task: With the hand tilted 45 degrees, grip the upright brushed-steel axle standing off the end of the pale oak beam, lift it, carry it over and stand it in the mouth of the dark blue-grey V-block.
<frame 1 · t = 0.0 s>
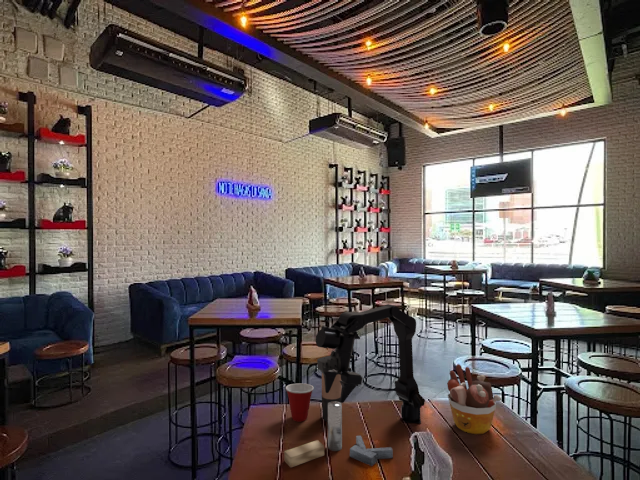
hand: (334, 397, 124), 15 cm above the table, tool pointing down, fingers open, 9 cm apart
plastic cup: (299, 418, 143), on the table
bucket of meat: (471, 426, 136), on the table
beam: (304, 458, 116), on the table
travel mug: (331, 418, 143), on the table
axle: (334, 447, 122), on the table
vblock: (371, 452, 119), on the table
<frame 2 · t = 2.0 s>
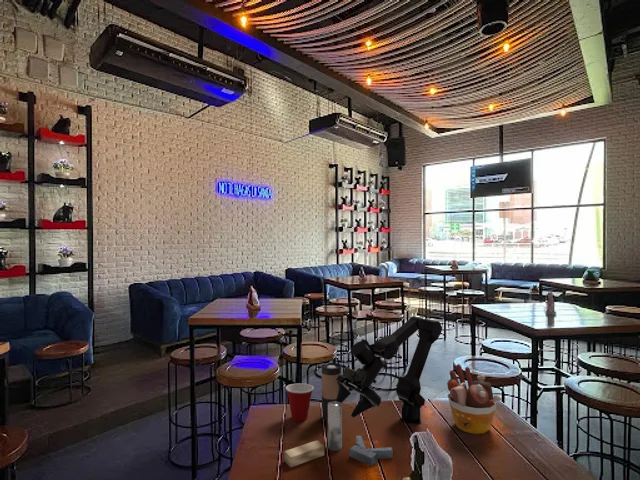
hand: (343, 411, 124), 11 cm above the table, tool tilted 45°, fingers open, 9 cm apart
nothing on the table moved.
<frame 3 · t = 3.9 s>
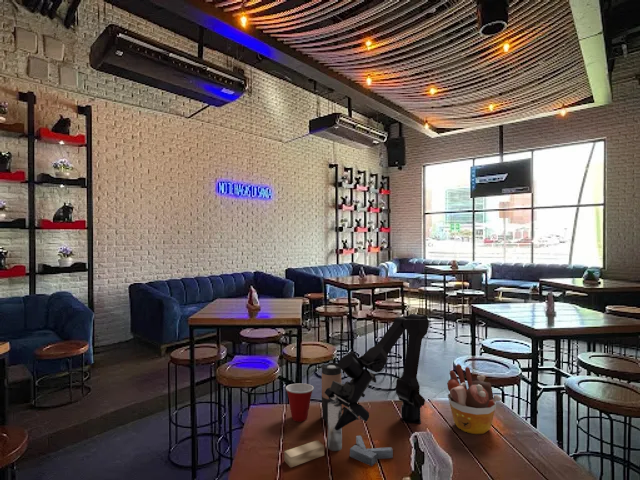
hand: (331, 426, 122), 7 cm above the table, tool tilted 45°, fingers closed on axle, 5 cm apart
axle: (334, 447, 122), on the table, touching gripper
everything else where it was.
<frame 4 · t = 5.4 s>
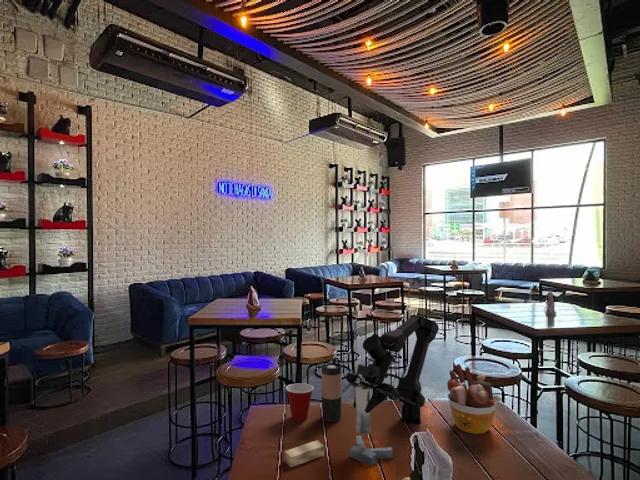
hand: (360, 410, 120), 13 cm above the table, tool tilted 45°, fingers closed on axle, 5 cm apart
axle: (363, 430, 121), point 6 cm above the table, touching gripper
everything else where it was.
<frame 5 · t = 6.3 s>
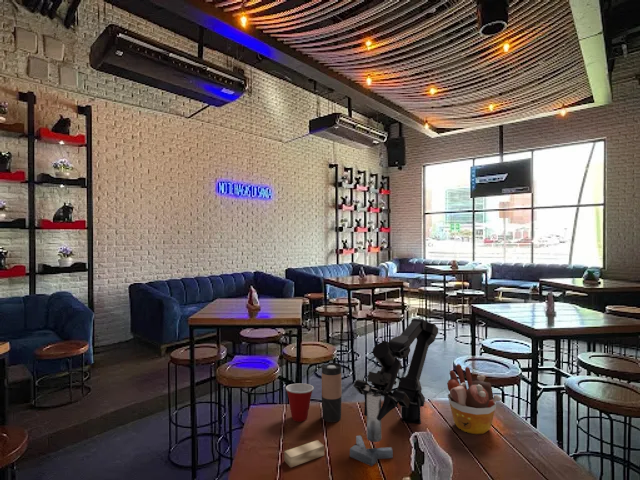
hand: (371, 417, 120), 11 cm above the table, tool tilted 45°, fingers closed on axle, 5 cm apart
axle: (374, 438, 121), point 4 cm above the table, touching gripper
everything else where it was.
when the fingers open (9 cm above the table, at t = 7.1 s): axle drops 2 cm, on the table.
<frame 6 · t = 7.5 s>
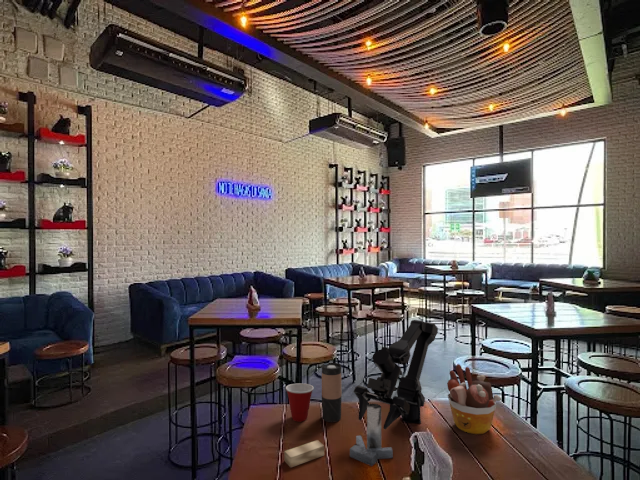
hand: (371, 424, 119), 9 cm above the table, tool tilted 45°, fingers open, 9 cm apart
axle: (374, 450, 121), on the table
everything else where it was.
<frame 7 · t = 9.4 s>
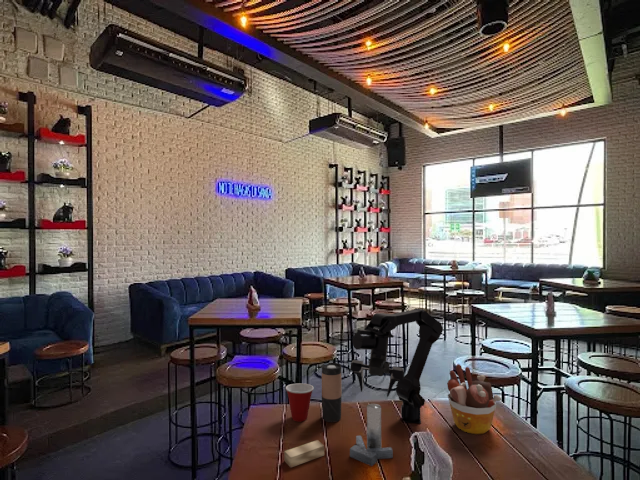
hand: (374, 393, 133), 13 cm above the table, tool pointing down, fingers open, 9 cm apart
nothing on the table moved.
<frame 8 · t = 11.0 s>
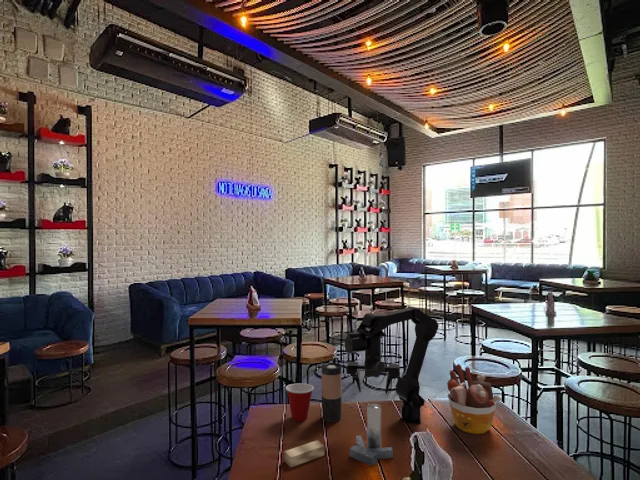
hand: (373, 392, 134), 13 cm above the table, tool pointing down, fingers open, 9 cm apart
nothing on the table moved.
at the end: axle 1.5 cm from the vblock (horizontally); axle tilted 0°; axle on the table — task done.
